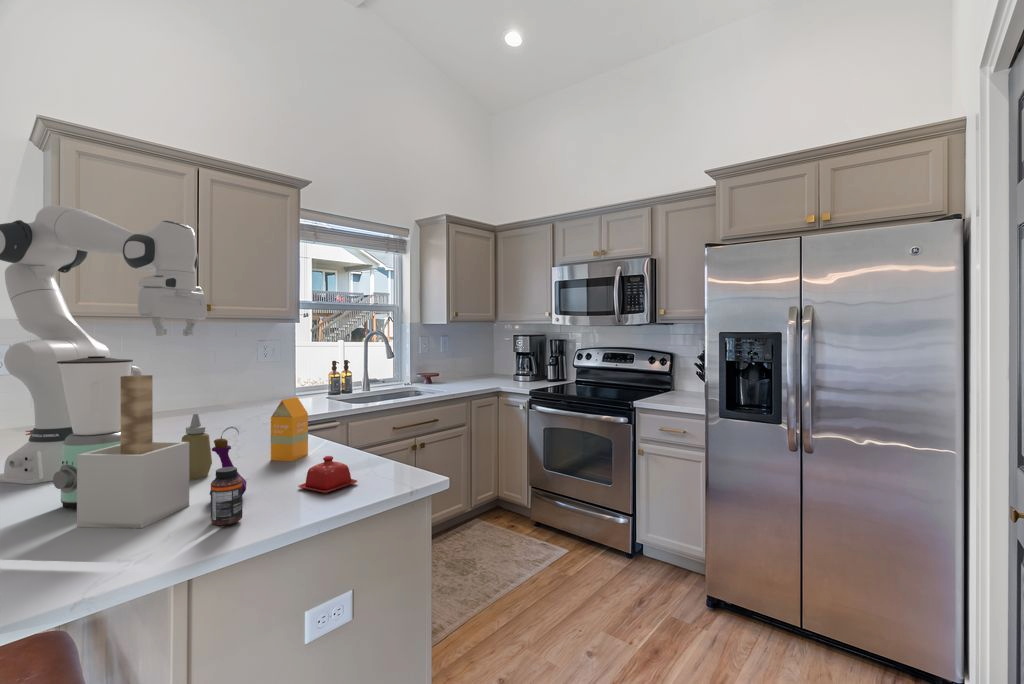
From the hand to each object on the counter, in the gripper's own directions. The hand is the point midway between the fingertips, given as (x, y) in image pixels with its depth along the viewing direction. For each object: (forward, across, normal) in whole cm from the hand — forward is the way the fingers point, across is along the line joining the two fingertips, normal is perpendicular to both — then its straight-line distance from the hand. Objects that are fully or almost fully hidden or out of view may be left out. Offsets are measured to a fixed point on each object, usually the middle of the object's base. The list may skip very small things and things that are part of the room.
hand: (175, 335), depth 130 cm
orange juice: (+40, -32, +15) cm, 53 cm away
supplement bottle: (+40, +22, +30) cm, 54 cm away
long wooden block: (+39, +21, +8) cm, 45 cm away
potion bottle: (+40, +10, +22) cm, 46 cm away
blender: (+40, +12, -9) cm, 43 cm away
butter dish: (+40, -3, +41) cm, 57 cm away
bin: (+40, +21, +8) cm, 46 cm away
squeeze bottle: (+40, -9, 0) cm, 41 cm away
